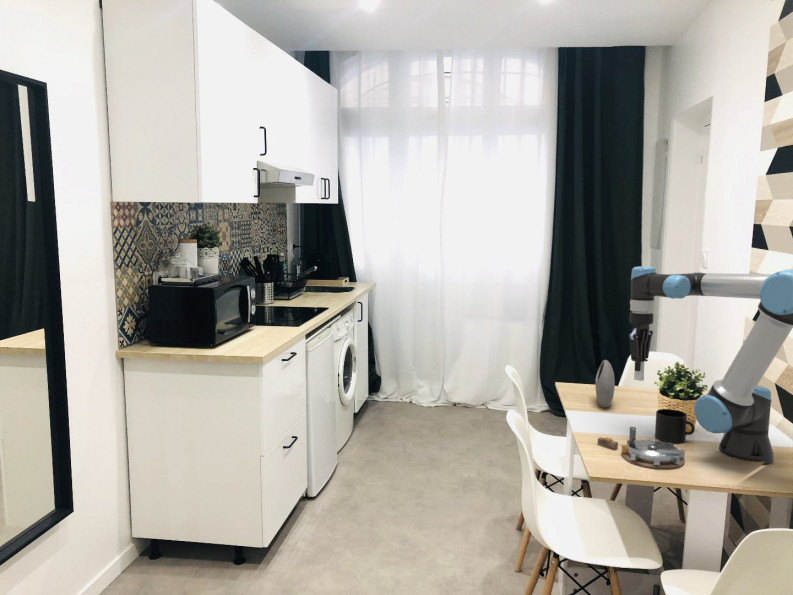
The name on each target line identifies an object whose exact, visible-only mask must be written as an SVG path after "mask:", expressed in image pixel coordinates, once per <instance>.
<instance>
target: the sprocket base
mask: <svg viewBox="0 0 793 595" xmlns="http://www.w3.org/2000/svg"><path fill="white" fill-rule="evenodd" d="M620 455H621V457H622V459H623V460H625V461H626V462H628V463H629V464H632V465H635V466H639V467H641V468H645V469H651V470H663V471H664V470H675V469H680V468H682V467H683V466H685V457H684V458H680V464H677V465H676V464H673V463H669V464H660V466H659V465H654V464H653V463H649V462H644V461H640V460H636V461H634V460H632V459H631V456H629V455H628V454H627V453H622V451H621V454H620Z"/></svg>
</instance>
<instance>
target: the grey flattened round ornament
mask: <svg viewBox="0 0 793 595" xmlns="http://www.w3.org/2000/svg"><path fill="white" fill-rule="evenodd" d="M615 382H616V380H615V372H614V369H613V367H612V364H611V363H610V362H609V360H607V359H604V360H602V361H601V363H600V365H599V367H598V369H597V373H596V377H595V395H596V400H597V402H598V404H599V406H600V407H601V408H603V409H607V408H609V407H610V405H611V404H612V401H613V399H614V394H615V388H616V387H615V384H616V383H615Z"/></svg>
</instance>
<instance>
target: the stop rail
mask: <svg viewBox="0 0 793 595" xmlns="http://www.w3.org/2000/svg"><path fill="white" fill-rule="evenodd" d="M597 446H600V447H603V448H606V449H609V450H612V451H617V450H618V448H619V442H618V441H616V440H613V438H611V437H610V438H609V437H598V438H597Z"/></svg>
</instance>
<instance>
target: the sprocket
mask: <svg viewBox="0 0 793 595" xmlns="http://www.w3.org/2000/svg"><path fill="white" fill-rule="evenodd" d="M628 437H629V438H628V439H627V440H626V441H627V442H626V444H621V452H622V453H627V454H628V455H629V456H631V459H632V460H634V461H636V460H640V461H644V462H649V463H653V464H654V465H659V466H660V464H669V463H673V464H676V465H677V464H680V458H684V459H685V451H684V449H679V448H677V447H676V446H674V445H675V443H666V442H662V441H659V440H653V439H652V438H646V439H638V440H636V437H637V427H635V426H630V427H629V436H628Z"/></svg>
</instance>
